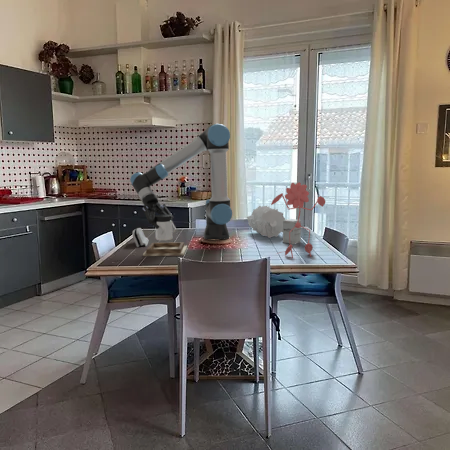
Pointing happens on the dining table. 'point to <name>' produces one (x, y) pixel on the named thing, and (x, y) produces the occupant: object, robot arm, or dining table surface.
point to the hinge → (139, 237)
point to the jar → (164, 227)
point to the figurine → (297, 198)
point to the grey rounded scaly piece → (266, 221)
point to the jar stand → (166, 249)
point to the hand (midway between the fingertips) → (168, 231)
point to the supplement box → (294, 234)
